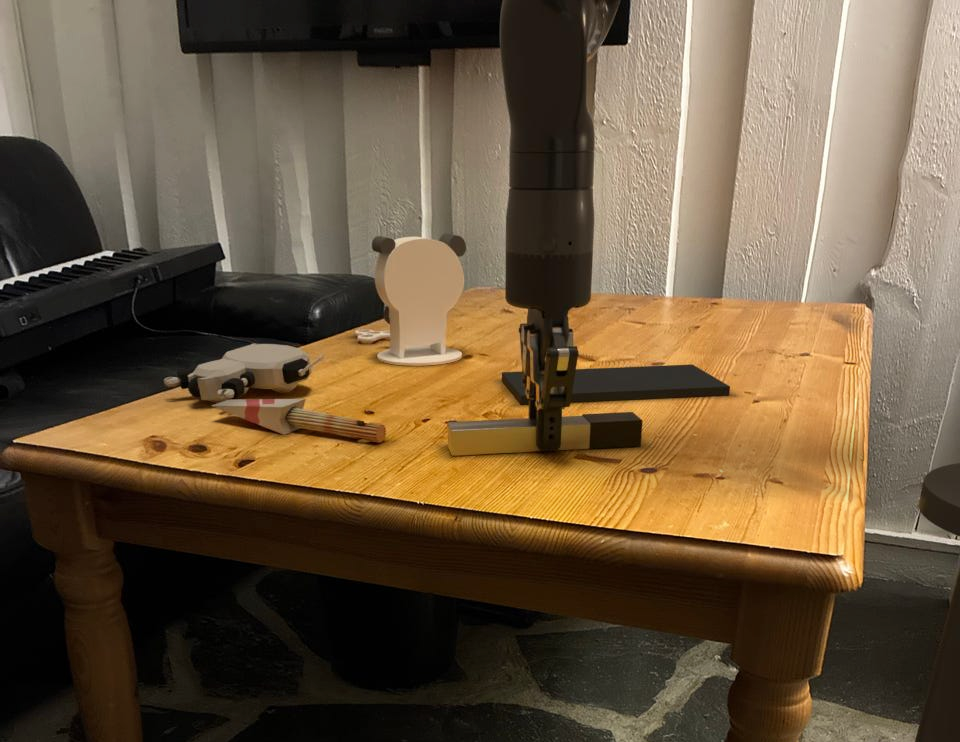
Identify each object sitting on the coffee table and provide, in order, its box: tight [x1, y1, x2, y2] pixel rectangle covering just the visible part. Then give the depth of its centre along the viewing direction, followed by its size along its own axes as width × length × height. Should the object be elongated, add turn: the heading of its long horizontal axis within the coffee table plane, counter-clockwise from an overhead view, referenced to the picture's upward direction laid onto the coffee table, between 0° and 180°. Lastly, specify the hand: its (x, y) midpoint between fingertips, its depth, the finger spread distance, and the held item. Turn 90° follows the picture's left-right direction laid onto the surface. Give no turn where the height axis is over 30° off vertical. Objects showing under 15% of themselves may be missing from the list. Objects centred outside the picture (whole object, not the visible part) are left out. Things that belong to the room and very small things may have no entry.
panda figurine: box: [371, 233, 467, 367], centre depth 122 cm, size 12×11×15 cm
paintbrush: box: [211, 398, 387, 444], centre depth 93 cm, size 4×3×20 cm
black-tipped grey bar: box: [446, 411, 643, 457], centre depth 88 cm, size 18×3×2 cm, turn 99°
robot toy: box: [163, 343, 325, 404], centre depth 106 cm, size 12×4×15 cm
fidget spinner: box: [354, 329, 390, 343], centre depth 137 cm, size 7×6×1 cm
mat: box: [501, 364, 731, 406], centre depth 109 cm, size 24×12×1 cm, turn 99°
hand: (544, 442), depth 88 cm, fingers closed on black-tipped grey bar, 3 cm apart
